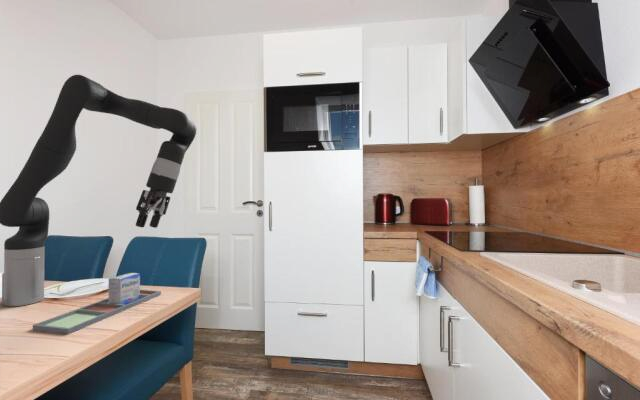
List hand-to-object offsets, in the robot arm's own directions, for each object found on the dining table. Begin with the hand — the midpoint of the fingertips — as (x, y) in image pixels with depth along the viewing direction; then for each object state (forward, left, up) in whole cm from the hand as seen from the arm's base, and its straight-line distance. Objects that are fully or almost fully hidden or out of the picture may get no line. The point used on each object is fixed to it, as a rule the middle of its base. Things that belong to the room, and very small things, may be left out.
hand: (146, 226), depth 92 cm
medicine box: (-11, +4, -25) cm, 28 cm away
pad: (-11, -12, -25) cm, 30 cm away
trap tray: (-11, -2, -25) cm, 27 cm away
